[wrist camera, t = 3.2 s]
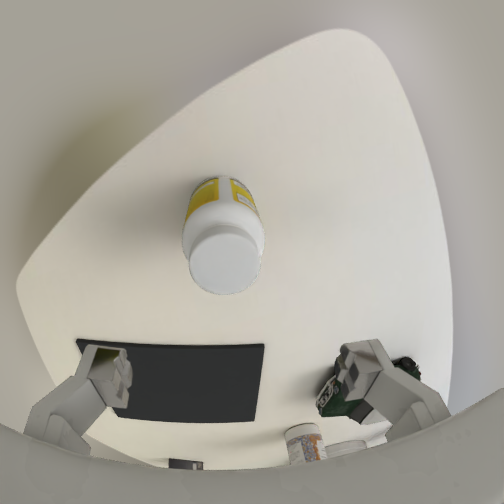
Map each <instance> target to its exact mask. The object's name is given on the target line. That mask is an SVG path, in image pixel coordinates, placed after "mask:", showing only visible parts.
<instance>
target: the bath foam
mask: <svg viewBox="0 0 504 504" xmlns="http://www.w3.org/2000/svg"><path fill="white" fill-rule="evenodd" d="M285 440H286V445H287V450H288V454H289V459H290V464H291V465H293V464H300V463H306V462H312V461H317V460H322V459H327V454H326V451H325V447H324V444H323V440H322V437H321V434H320V430H319V427H318V426H317V425H315V424H303V425H298V426H296V427H293V428H291V429H289V430H288V431H287V432H286V433H285Z"/></svg>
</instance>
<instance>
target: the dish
mask: <svg viewBox="0 0 504 504" xmlns="http://www.w3.org/2000/svg"><path fill="white" fill-rule="evenodd" d="M364 449H367V447H366V444H365V442H364V441H358V440H356V441H348V442H343V443H338V444H335V445H331V446H327V447H325V451H326V454H327V458H332V457H337V456H341V455H345V454H349V453H353V452H357V451H360V450H364ZM290 465H291V464H290Z"/></svg>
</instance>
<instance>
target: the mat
mask: <svg viewBox="0 0 504 504" xmlns="http://www.w3.org/2000/svg"><path fill="white" fill-rule="evenodd" d="M76 343H77V345H78V347H79V350H80V352H81V354H82V355H83V353H84V350H85V348H86V346H87V345H88V344H91V345H98V346H107V347H115V348H123V349H125V350H126V352H127V360H128V361H129V362H130V363H131V366H132V370H133V380H132V385H131V386H130V387H129V388H128V389H127V390H128V393H129V400H128V405H127V409H125V408H116V407H112V408H113V410H114V412H115V413H116V415H117V416H118V417H121V418H129V419H138V420H149V421H162V422H180V423H232V422H251V421H254V419H255V413H256V406H257V399H258V392H259V385H260V378H261V370H262V363H263V355H264V348H265V347H264V344H252V345H217V346H184V345H150V344H131V343H117V342H104V341H94V340H84V339H77V340H76Z"/></svg>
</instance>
